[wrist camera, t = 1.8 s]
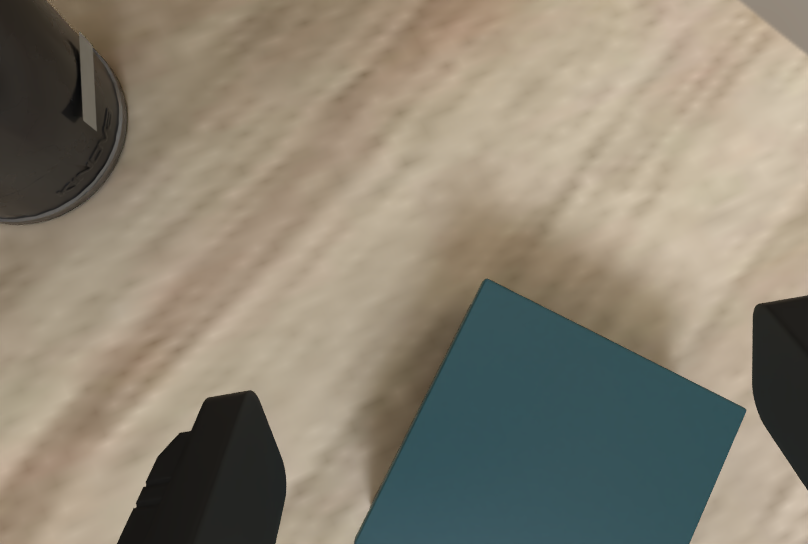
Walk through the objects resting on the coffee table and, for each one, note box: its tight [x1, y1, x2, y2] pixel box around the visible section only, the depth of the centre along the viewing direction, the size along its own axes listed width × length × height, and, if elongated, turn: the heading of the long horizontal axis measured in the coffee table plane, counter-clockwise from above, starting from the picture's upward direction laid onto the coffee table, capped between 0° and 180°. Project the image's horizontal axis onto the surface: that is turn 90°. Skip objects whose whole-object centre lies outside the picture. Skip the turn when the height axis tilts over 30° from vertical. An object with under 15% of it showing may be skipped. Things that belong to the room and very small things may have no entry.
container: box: [354, 279, 746, 544], centre depth 28 cm, size 11×11×6 cm
